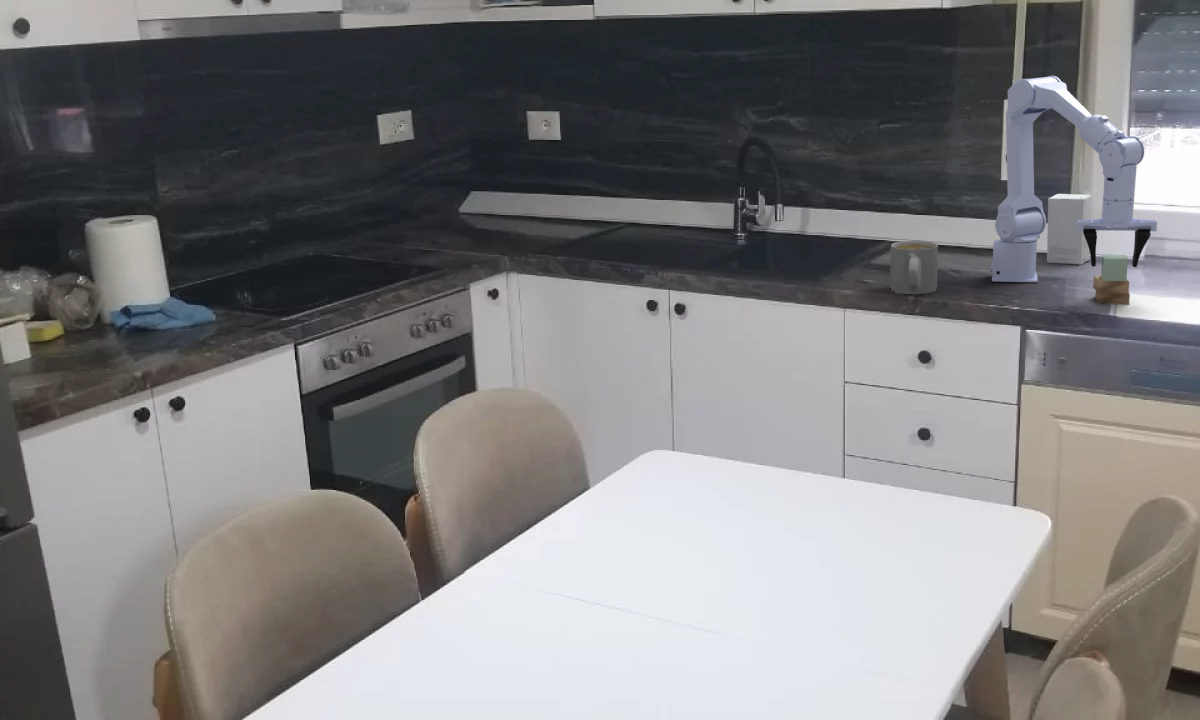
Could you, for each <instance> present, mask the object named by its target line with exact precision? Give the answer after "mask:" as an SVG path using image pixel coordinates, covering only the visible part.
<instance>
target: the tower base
mask: <svg viewBox="0 0 1200 720" xmlns="http://www.w3.org/2000/svg"><path fill="white" fill-rule="evenodd" d="M1094 295H1095V296H1096V297H1095V296H1094V297H1095V301H1097V302H1096V304H1097V303H1110V304H1109V305H1130V296H1131V295H1130V292H1129V293H1128V294H1098V292H1097V291H1096V290H1095V294H1094Z"/></svg>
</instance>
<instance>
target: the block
mask: <svg viewBox="0 0 1200 720" xmlns="http://www.w3.org/2000/svg"><path fill="white" fill-rule="evenodd" d="M1101 256H1102V257H1101V274H1100V276H1101V277H1102V280H1103V281H1126V280H1128V279H1127V277H1128V266H1129V265H1128V263H1129V262H1128V261H1129V259H1128V256H1127V255H1126V254H1102V255H1101Z"/></svg>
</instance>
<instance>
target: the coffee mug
mask: <svg viewBox="0 0 1200 720" xmlns="http://www.w3.org/2000/svg"><path fill="white" fill-rule="evenodd" d="M938 256H939V245H938V243H936V242H932V241H927V240H903V241H897V242H893V243H892V244H890V272H889V273H890V274H889V278H890V279H889V280H890V281H889V282H890V284H889V286H890V287H889V289H890V288H891V289H892V290H893V291H896V292H898V293H906V294H919V293H928V292H932V291H935V290H936V289H937V290H938V263H939V262H938Z"/></svg>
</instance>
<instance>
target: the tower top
mask: <svg viewBox="0 0 1200 720" xmlns="http://www.w3.org/2000/svg"><path fill="white" fill-rule="evenodd" d="M1092 282H1093V285H1092V289H1094V290H1095V292H1096V291H1097V292H1098V294H1128V293H1129V294H1130V291H1129V289H1130V281H1129V279H1127V280H1126V281H1103V280H1102V277H1101V275H1093V281H1092Z"/></svg>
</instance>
